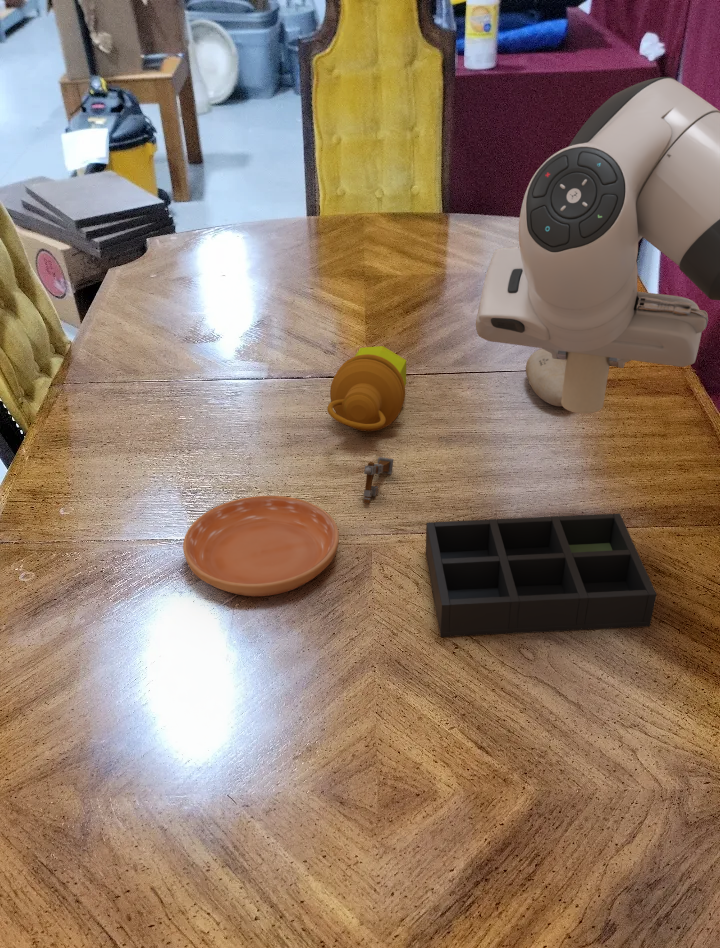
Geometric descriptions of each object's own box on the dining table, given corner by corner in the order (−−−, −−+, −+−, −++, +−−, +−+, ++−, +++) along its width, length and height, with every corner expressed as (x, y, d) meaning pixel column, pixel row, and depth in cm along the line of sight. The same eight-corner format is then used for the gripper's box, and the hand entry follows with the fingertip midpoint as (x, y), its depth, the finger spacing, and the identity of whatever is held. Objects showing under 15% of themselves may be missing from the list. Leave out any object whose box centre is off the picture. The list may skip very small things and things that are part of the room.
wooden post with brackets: (356, 502, 110) (360, 461, 108) (374, 493, 117) (378, 455, 116) (371, 505, 109) (376, 464, 108) (389, 495, 117) (393, 457, 115)
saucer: (228, 627, 95) (225, 603, 93) (162, 547, 106) (157, 524, 104) (368, 572, 101) (368, 548, 100) (293, 502, 112) (291, 479, 110)
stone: (545, 401, 123) (510, 338, 129) (550, 433, 128) (516, 371, 135) (589, 383, 123) (552, 320, 129) (592, 415, 128) (556, 354, 134)
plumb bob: (345, 379, 136) (306, 450, 115) (360, 315, 131) (322, 377, 110) (408, 398, 136) (380, 472, 115) (426, 334, 131) (400, 400, 110)
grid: (614, 544, 104) (620, 513, 102) (650, 626, 94) (657, 594, 92) (425, 553, 104) (426, 522, 101) (440, 637, 94) (441, 605, 91)
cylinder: (597, 393, 102) (610, 308, 96) (607, 413, 99) (621, 326, 93) (557, 395, 102) (567, 309, 96) (565, 414, 99) (577, 327, 93)
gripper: (718, 272, 81) (705, 338, 95) (477, 246, 87) (496, 312, 100) (701, 346, 81) (691, 402, 94) (460, 315, 87) (482, 372, 100)
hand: (589, 355), depth 97 cm, fingers closed on cylinder, 4 cm apart
